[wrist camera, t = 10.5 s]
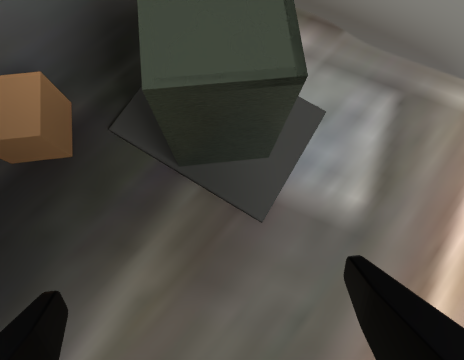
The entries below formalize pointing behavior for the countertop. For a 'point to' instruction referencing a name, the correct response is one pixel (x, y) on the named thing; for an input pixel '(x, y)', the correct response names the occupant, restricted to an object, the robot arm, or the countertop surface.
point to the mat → (227, 173)
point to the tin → (220, 74)
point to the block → (33, 119)
